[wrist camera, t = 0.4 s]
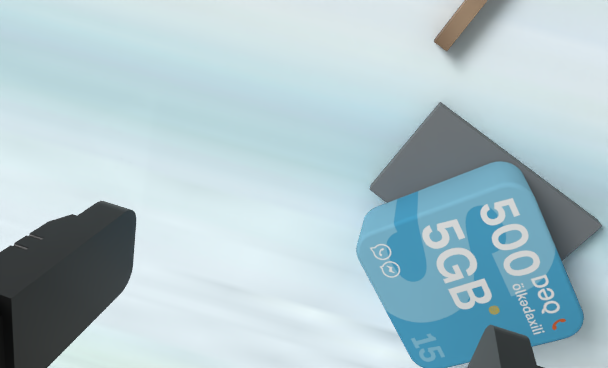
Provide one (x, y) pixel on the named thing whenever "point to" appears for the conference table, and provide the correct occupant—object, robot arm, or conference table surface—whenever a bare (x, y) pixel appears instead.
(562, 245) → the rubber mat
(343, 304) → the conference table surface
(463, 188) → the data package
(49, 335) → the robot arm
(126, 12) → the conference table surface
